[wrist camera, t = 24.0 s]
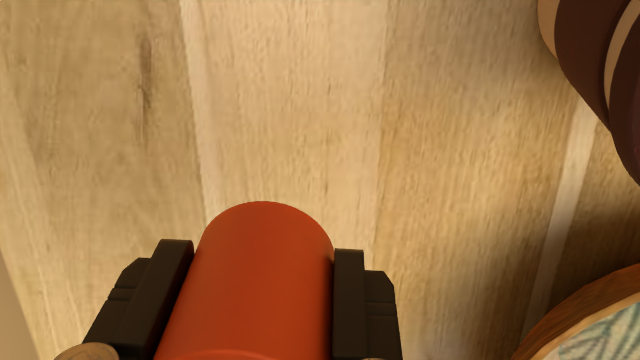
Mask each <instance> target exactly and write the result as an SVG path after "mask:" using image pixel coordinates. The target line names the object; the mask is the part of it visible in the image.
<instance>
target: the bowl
mask: <svg viewBox="0 0 640 360" xmlns="http://www.w3.org/2000/svg"><path fill="white" fill-rule="evenodd" d="M510 360H640V263H637V264H634V265H631V266H629V267H626V268H623V269H620V270H617V271H614V272H611V273H609V274H608V275H606V276H604V277H602V278H600V279H598V280H596V281H594V282H592V283H590V284H588V285H586V286H584V287H582V288H581V289H580V290H578V291H577V292H575V293H574V294H573V295H571V296H570V297H568V298H567V299H565V300H564V301H563V302H561V303H560V304H558V305H557V306H556V307H555V308H553V309H552V310H551V311H550V312H549V313H548V314H547V315H546V316H545V317H544V318H543V319H542V320H541V321H540V322H539V323H538V324H537V325H536V326H535V327H534V328H533V329H532V330H531V331H530V332H529V333H528V334H527V335H526V337H525V338H524V340H523V341H522V343H521V344H520V346H519V347H518V349H517V350H516V352H515V353H514V355H513V356H512V358H511V359H510Z"/></svg>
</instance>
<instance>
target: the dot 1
mask: <svg viewBox="0 0 640 360" xmlns="http://www.w3.org/2000/svg"><path fill="white" fill-rule="evenodd" d="M333 270H334V249H333V246H332V243H331V241H330V239H329V237H328V235H327V234H326V232H325V231H324V230H323V228H322V227H321V226H320V225H319V224H318V223H317V222H316V221H315V220H314V219H313V218H311V217H310V216H309V215H307V214H306V213H304V212H302V211H300V210H298V209H296V208H294V207H291V206H289V205H286V204H282V203H277V202H269V201H255V202H247V203H243V204H239V205H237V206H234V207H231V208H229V209H227V210H226V211H224V212H222V213H221V214H219V215H218V216H217V217H215V218H214V219H213V220H212V221H211V222H210V224H209V225H208V226H207V228H206V229H205V231H204V233H203V235H202V237H201V240H200V242H199V245H198V247H197V250H196V252H195V255H194V257H193V260H192V262H191V265H190V267H189V270H188V272H187V275H186V277H185V280H184V282H183V285H182V287H181V290H180V292H179V295H178V297H177V300H176V302H175V305H174V307H173V310H172V312H171V315H170V318H169V320H168V323H167V325H166V328H165V330H164V333H163V335H162V338H161V340H160V343H159V345H158V348H157V350H156V353H155V355H154V358H153V360H331V350H332V310H333Z"/></svg>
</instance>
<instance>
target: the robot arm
mask: <svg viewBox="0 0 640 360" xmlns="http://www.w3.org/2000/svg"><path fill="white" fill-rule="evenodd" d="M193 257H194V246H193V242H192V241H191V240H175V239H161V240H160V242H159V243H158V245H157V247H156V249H155V251H154V253H153V255H152V257H151V258H137V259H136V260H135V261H134V262H133V263H131V264H130V265H129V266H128V267H126V268H125V269H124V270H123V271H122V273H121V275H120V276H119V278H118V280H117V282H116V283H115V287H114V288H113V289H112V291H111V292H110V294H109V296H108V300H106V301H105V303H104V305H103V306H102V308H101V310H100V312H99V314H98V315H97V317H96V319H95V321H94V322H93V324H92V326H91V328H90V329H89V331H88V333H87V335H86V337H85V338H84V340H83V342H82V344H80V345H76V346H74V347H71V348H69V349H67V350H65V351H64V352H62V353H61V354H59V355H58V356H57V357H56V358H55V359H54V360H153V358H154V355H155V353H156V350H157V348H158V345H159V343H160V340H161V338H162V335H163V333H164V330H165V328H166V325H167V323H168V320H169V318H170V315H171V312H172V310H173V307H174V305H175V302H176V300H177V297H178V295H179V292H180V290H181V287H182V285H183V282H184V280H185V277H186V275H187V272H188V270H189V267H190V265H191V262H192V260H193ZM331 360H403V357H402V349H401V341H400V333H399V325H398V317H397V309H396V304H395V293H394V285H393V284H392V282H391V281H390V280H389V278H388V277H387V275H386V274H385V273H384V271H372V270H365V269H364V252H363V250H356V249H338V248H335V251H334V270H333V310H332V350H331Z"/></svg>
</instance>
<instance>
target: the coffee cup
mask: <svg viewBox="0 0 640 360" xmlns="http://www.w3.org/2000/svg"><path fill="white" fill-rule="evenodd" d="M537 13H538V22H539V28H540V32H541V35H542V38H543V40H544V42H545V44H546V45H547V47H548V48H549V50H550V51H551V52H552V53H553V55H554V56H555V57H556V58H557V59H558V61H559V64H560V66H561V69H562V71H563V72H564V74H565V76H566V78H567V79H568V80H569V82H570V83H571V84H572V86H573V87H574V88H575V89H576V90H577V92H578V93H579V94H580V95H581V97H582V98H583V99H584V100H585V102H586V103H587V104H588V105H589V107H590V108H591V109H592V110H593V111H594V113H595V114H596V115H597V116H598V118H599V119H600V120H601V121H602V123H603V124H604V125H605V126H606V127H607V129H608V130H609V131H610V132H611V134H612V137H613V141H614V144H615V147H616V151H617V153H618V155H619V157H620V159H621V161H622V163H623V165H624V167H625V168H626V170H627V171H628V173H629V175H630V176H631V177H632V178H633V179H634V181H635V182H636V183H637V184H638V185H639V186H640V0H538V7H537Z"/></svg>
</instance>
